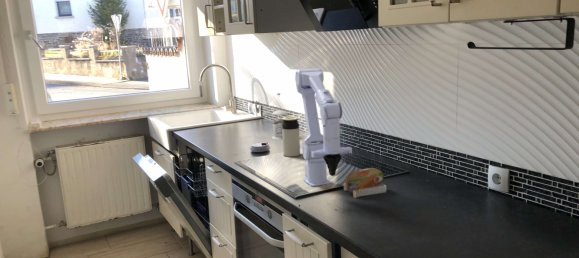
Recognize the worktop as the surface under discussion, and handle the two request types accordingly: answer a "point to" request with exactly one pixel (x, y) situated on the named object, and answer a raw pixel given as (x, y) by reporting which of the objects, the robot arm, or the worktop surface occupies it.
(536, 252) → the worktop surface
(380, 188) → the door track
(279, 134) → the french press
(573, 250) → the worktop surface
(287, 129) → the travel mug
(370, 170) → the tin
